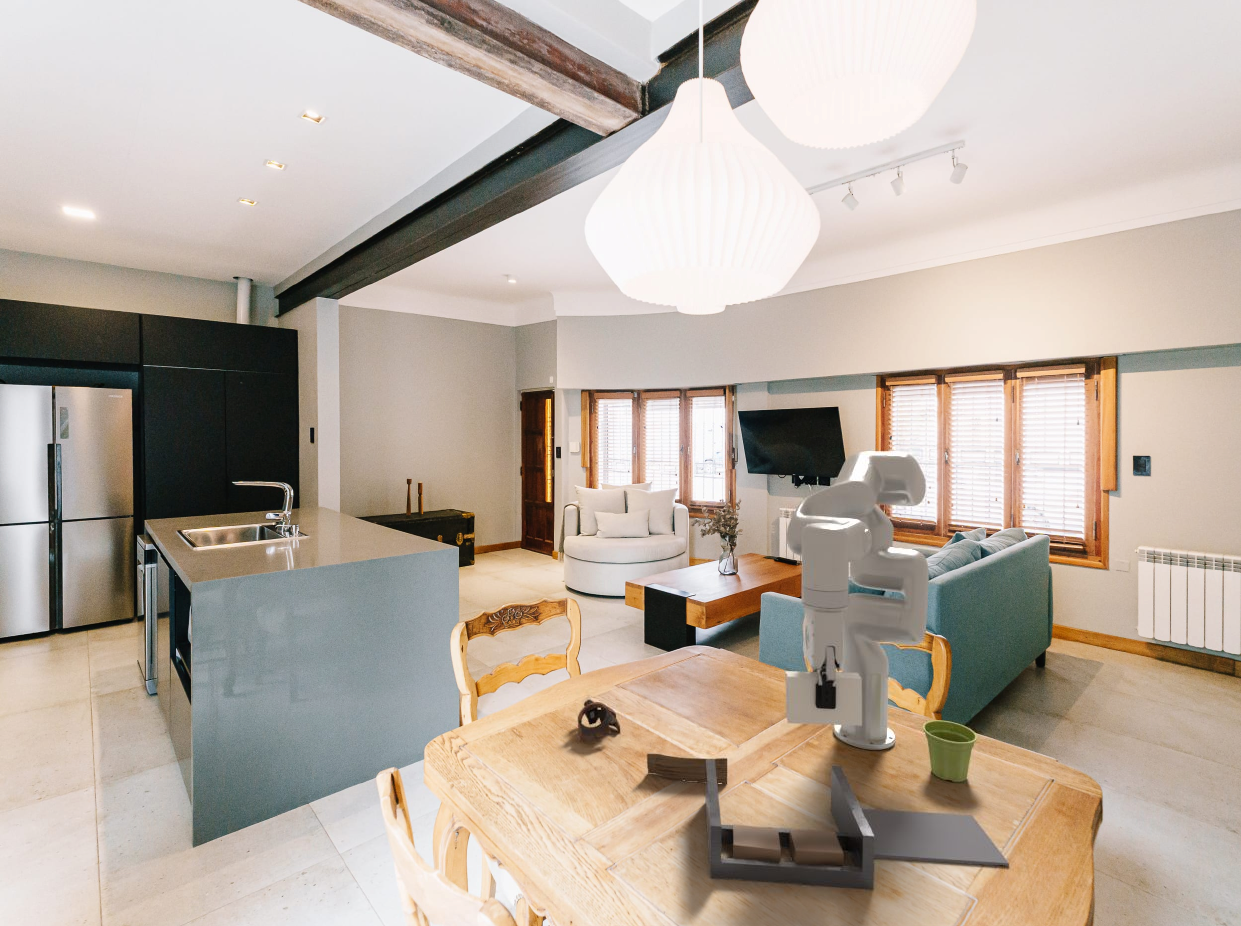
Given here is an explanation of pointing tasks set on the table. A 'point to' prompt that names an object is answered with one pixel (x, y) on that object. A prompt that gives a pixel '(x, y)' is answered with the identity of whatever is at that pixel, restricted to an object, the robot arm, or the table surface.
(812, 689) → the white rectangular brick
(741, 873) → the rack
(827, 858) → the offcut
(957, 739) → the plant pot
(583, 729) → the pottery mug
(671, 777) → the wood plank
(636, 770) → the table surface
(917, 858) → the mat
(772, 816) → the table surface
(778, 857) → the offcut
